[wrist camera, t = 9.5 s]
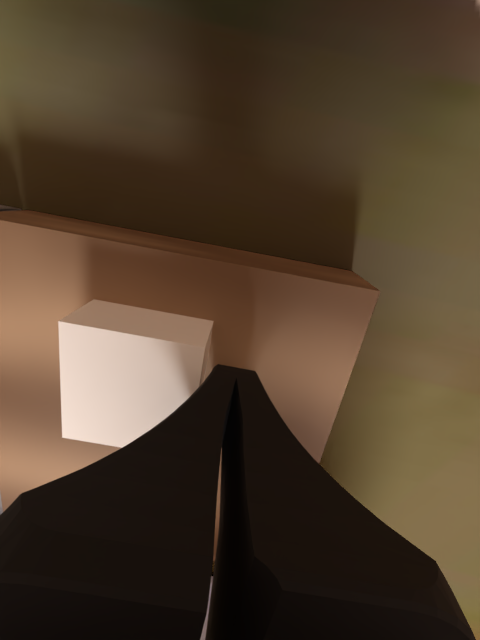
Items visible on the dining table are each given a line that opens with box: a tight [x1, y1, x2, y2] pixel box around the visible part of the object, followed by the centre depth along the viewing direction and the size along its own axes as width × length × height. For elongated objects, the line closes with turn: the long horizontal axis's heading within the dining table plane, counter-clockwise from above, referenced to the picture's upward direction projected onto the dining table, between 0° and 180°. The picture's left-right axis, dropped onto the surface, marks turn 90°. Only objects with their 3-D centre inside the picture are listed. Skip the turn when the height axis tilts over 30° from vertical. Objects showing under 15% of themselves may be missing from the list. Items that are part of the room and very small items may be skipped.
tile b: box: [58, 299, 214, 448], centre depth 10 cm, size 4×4×2 cm
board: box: [0, 210, 380, 561], centre depth 14 cm, size 14×13×3 cm
